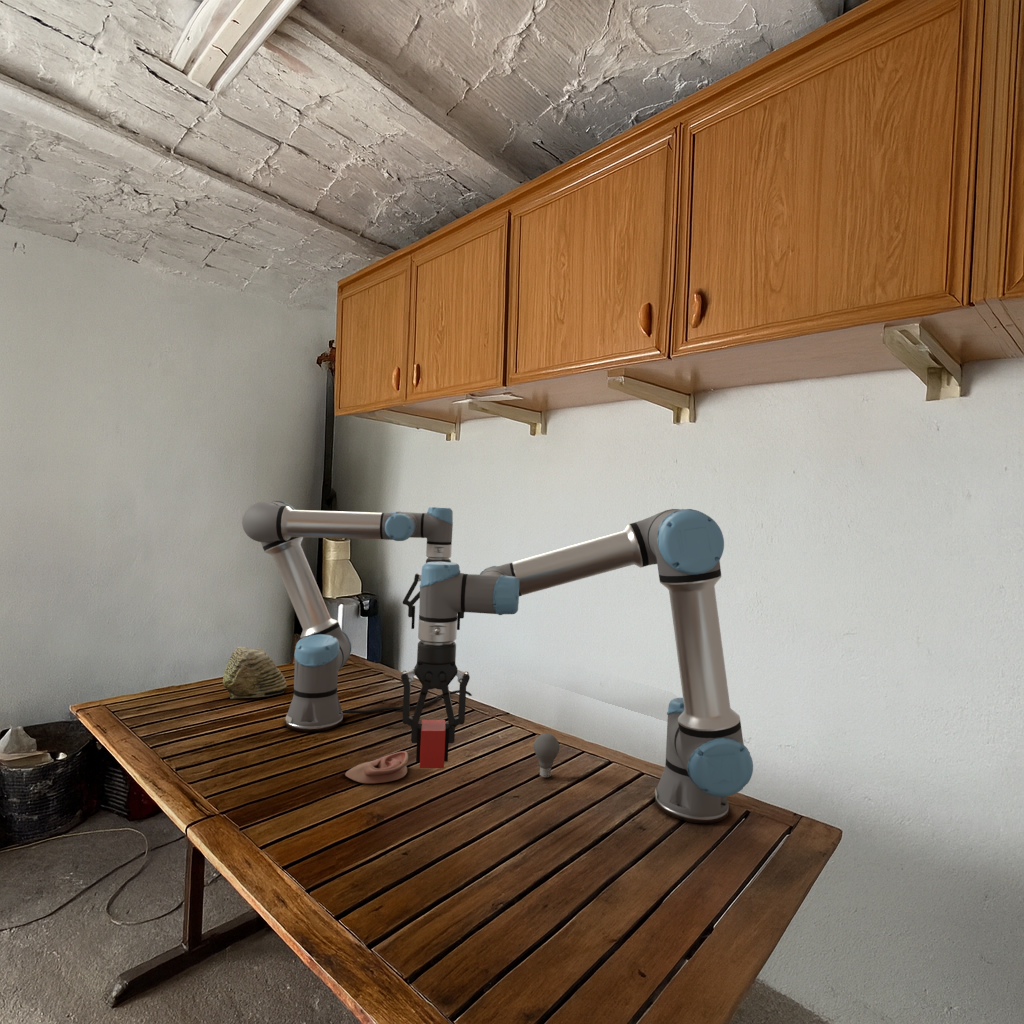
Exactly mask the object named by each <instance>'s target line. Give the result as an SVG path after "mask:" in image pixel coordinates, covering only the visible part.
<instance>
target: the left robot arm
mask: <svg viewBox="0 0 1024 1024" xmlns="http://www.w3.org/2000/svg"><path fill="white" fill-rule="evenodd" d="M453 515H454V513H453V510H452V508H450V507H447V506H446V507H444V506H429V507H428V509H427V512H411V511H410V512H408V511H389V512H371V511H370V512H369V511H342V510H341V511H338V510H306V509H295V508H294V507H293V505H291V504H289V503H286V502H284V501H280V500H272V501H259V502H255V503H253V504H251V505H250V506H248V507H247V509H246V510H245V511H244V513H243V515H242V519H241V520H242V521H241V524H242V529H243V531H244V533H245V534H246V535H247V537H248V538H250V540H253V541H255V542H258V543H260V545H261V547H262V550H263V551H264V553H266V554H268V555H270V556H272V558H273V561H274V564H275V566H276V568H277V571H278V574H279V575H280V579H281V580H282V583H283V585H284V587H285V590H286V593H287V595H288V598H289V600H290V603H291V605H292V607H293V609H294V612H295V614H296V617H297V619H298V621H299V624H300V626H301V628H302V632H301V634H300V637H299V638H300V639H299V640H298V641H297V642H296V643H295V650H294V655H293V656H294V672H293V673H294V674H293V695H292V696H293V697H292V699H291V702H290V704H289V708H288V711H287V713H286V715H285V726H286V728H287V729H289V730H291V731H294V732H295V731H296V732H301V733H316V732H325V731H329V730H332V729H335V728H337V727H339V726H340V725H342V723H343V722H344V714H370V713H377V712H382V711H392V710H393V711H395V710H397V711H398V710H399V711H400V710H402V711H403V706H385V707H379V708H373V709H362V710H361V709H359V710H357V709H356V710H355V709H354V710H353V709H350V710H349V709H348V710H347V709H346V710H343V709H342V706H341V702H340V699H339V695H338V682H339V681H338V680H339V678H338V677H339V671H340V670H341V668H342V667H344V666H346V664H347V663H348V661H349V659H350V656H351V653H352V648H353V647H352V641H351V638H350V636H349V635H348V634H347V633H346V632H345V631H343V630H342V628H341V625H340V623H339V621H338V620H337V619H334V618H332V616H331V614H330V613H329V611H328V608H327V605H326V603H325V600H324V598H323V595H322V593H321V590H320V588H319V586H318V584H317V583H318V582H317V581H316V578H315V576H314V574H313V572H312V569H311V566H310V564H309V561H308V559H307V557H306V554H305V551H304V549H303V546H302V542H303V539H304V538H314V539H315V538H317V539H318V538H319V539H351V540H352V539H355V540H356V539H357V540H384V541H395V542H404V541H406V540H408V539H410V538H411V539H412V538H413V539H415V538H416V539H426V548H425V549H426V551H425V556H426V559H425V564H426V563H428V562H452V560H451V559H450V558H451V557H452V549H453V548H452V547H453V527H454V522H453V520H454V518H453V517H454V516H453ZM413 578H414V579H413V581H412V584H411V585H410V587H409V589H408V591H407V593H406V594H405V596H404V598H403V600H402V605H405V606H407V608H408V609H407V616H408V618H411V630H415V625H416V624H415V622H416V605H415V603H417V601H418V600H420V590H419V591H418V592H417V593H416V594H415V595H414V596H413V598H412V599H411V600H410V598H411V596H412V593H413V592H414V591H415V589H416V587H417V585H418V583H419V582H421V574H420V573H418V572H416V573H415V574H414V577H413ZM464 618H465V612H458V613H457V631H461V630H460V629H461V628H460V627H461V619H464ZM449 693H450V696H451V695H454V694H455V695H456V694H459V689H458V690H453V691H449ZM466 695H467V696H469V697H472V696H473V694H472V693H471V692H469V691H467V690H466ZM440 698H444V697H443V693H442V694H439V695H437V696H436V697H435V698H434V699H431V700H430V701H427V702H424V706H423V708H424V707H426V706H429V705H431V704H433V703H435V702H437V701H438V700H440ZM415 709H416V705H410V710H415Z"/></svg>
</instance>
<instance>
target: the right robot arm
mask: <svg viewBox="0 0 1024 1024" xmlns="http://www.w3.org/2000/svg"><path fill="white" fill-rule="evenodd" d="M724 550H725V538H724V535H723V531H722V529H721V527H720V526H719V524H718V523H717V522H716V521H715V520H714V519H713V518H712V517H711V516H709V515H708V514H706V513H704V512H702V511H700V510H697V509H694V508H693V509H692V508H671V509H666V510H664V511H660V512H659V513H656V514H654V515H651V516H649V517H646V518H644V519H641V520H638V521H635V522H632V523H628V524H626V526H625V528H624V530H620V531H618V532H614V533H610V534H607V535H603V536H599V537H597V538H593V539H589V540H586V541H582V542H579V543H575V544H572V545H568V546H564V547H560V548H558V549H554V550H551V551H547V552H543V553H539V554H536V555H532V556H529V557H526V558H523V559H519V560H515V561H512V562H509V563H504V564H501V565H492V566H489V567H486V568H484V569H483V570H482V571H481V572H480V573H479V574H476V573H473V574H472V573H464V572H461V569H460V565H459V564H458V563H457V562H452V561H451V562H428V563H426V562H425V563H424V564H423V565H422V567H421V581H420V584H419V591H420V598H419V606H418V607H419V608H418V609H419V610H418V628H417V639H418V640H419V641H418V642H417V649H416V651H417V652H416V664H415V666H414V668H413V669H410V670H403V671H402V672H401V675H400V678H401V679H400V680H401V682H402V685H403V701H402V707H403V710H402V724H403V725H408V726H410V727H411V732H410V733H411V735H410V742H411V744H416V755H415V756H416V757H415V762H418V763H420V748H421V728H422V723H419V722H420V719H421V715H422V712H423V709H424V707H425V706H424V703H426V699H427V695H428V692H429V690H439V691H440V690H441V693H442V694H443V697H442V698H443V702H444V707H445V712H446V717H447V722H448V723H445V728H446V733H445V755H444V763H446V762H449V745H450V744H454V743H455V740H456V739H455V738H456V737H455V736H456V727H457V726H460V725H461V726H462V725H464V724H465V721H466V702H467V701H466V699H467V694H466V691H467V686H468V683H469V681H470V679H471V677H470V672H469V671H462V670H460V669H458V667H457V666H458V665H456V661H457V660H456V658H457V643H456V642H455V641H456V640H457V635H458V630H457V616H458V612H464V613H470V614H471V613H473V614H487V615H488V614H489V615H498V616H503V615H515V614H517V613H518V611H519V603H520V597H522V596H526V595H529V594H532V593H537V592H539V591H545V590H547V589H551V588H554V587H558V586H562V585H564V584H569V583H572V582H575V581H580V580H583V579H588V578H590V577H594V576H597V575H602V574H605V573H609V572H612V571H617V570H620V569H623V568H627V567H631V566H633V565H634V566H636V567H638V568H639V569H640V568H644V567H648V566H652V565H657V572H658V579H659V584H661V585H662V586H663V587H665V588H666V589H667V590H668V595H669V602H670V609H671V617H672V618H671V619H672V626H673V633H674V638H675V639H674V641H675V647H676V654H677V655H676V656H677V662H678V670H679V678H680V686H681V693H682V697H675V698H672V699H671V700H670V701H669V702H668V707H667V712H666V716H667V719H666V720H667V721H666V722H667V723H666V742H665V743H666V745H665V765H664V768H663V771H662V774H661V776H660V779H659V781H658V784H657V786H656V787H655V789H654V794H655V795H654V802H655V805H656V807H657V808H658V809H660V810H661V811H662V812H663V813H665V814H666V815H667V816H668V815H669V816H670V817H672V818H674V819H677V820H680V821H684V822H688V823H693V824H714V823H720V822H722V821H723V820H725V819H727V817H728V815H729V809H730V808H729V807H730V804H729V799H728V797H730V796H733V795H735V794H737V793H739V792H740V791H742V790H743V789H744V788H745V787H746V785H748V784H749V782H750V781H751V778H752V776H753V773H754V762H753V757H752V755H751V752H750V751H749V748H748V747H747V746H745V744H744V737H743V730H742V722H741V717H740V714H738V713H737V712H736V711H735V710H733V708H732V707H731V703H730V702H731V701H730V695H729V687H728V679H727V671H726V664H725V656H724V649H723V647H724V646H723V641H722V640H723V639H722V632H721V626H720V618H719V617H720V616H719V610H718V609H719V608H718V602H717V595H716V594H717V593H716V588H715V586H716V584H717V583H718V582H719V580H720V579H721V578H722V569H721V558H722V556H723V554H724ZM414 677H416V678H417V680H418V681H419V683H420V684H421V688H420V692H419V696H418V699H417V702H416V705H415V706H416V709H414V713H413V715H412V716H411V715H410V712H411V711H410V710H411V709H410V707H411V687H412V684H411V683H413V681H414ZM455 678H457V682H458V683H459V689H458V690H459V693H458V709H457V710H458V711H457V712H458V713H457V716H455V714H454V708H453V703H452V699H451V695H450V693H449V692H450V688H449V685H450V684H451V682H452V681H453V680H454V679H455ZM423 706H424V707H423Z"/></svg>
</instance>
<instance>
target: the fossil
mask: <svg viewBox="0 0 1024 1024" xmlns="http://www.w3.org/2000/svg"><path fill="white" fill-rule="evenodd" d="M222 676H223V677H222V685H223V687H224V688H225V690H226V691H228V693H229V698H230V699H250V698H264V697H271V696H275V695H281V694H284V693H285V691H286V689H287V687H288V686H287V680H286V678H285V676H284V674H283V673H282V672H281V669H279V668H278V667H277V665H276V663H275V662H274V660H273V659H272V658H271V657H270V656H269V655H268V654H267V653H266V652H265V650H264V649H263V648H260V647H258V648H251V647H247V646H246V647H245V646H238V647H237V648H236V649H235V650H233V651H232V653H231V656H230V657H229V659H228V660H227V663H226V666H225V668H224V671H223V675H222Z"/></svg>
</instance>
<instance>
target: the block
mask: <svg viewBox="0 0 1024 1024" xmlns="http://www.w3.org/2000/svg"><path fill="white" fill-rule="evenodd" d="M421 724H422V728H421V748H420V762H419V769H444V768H445V762H444V755H445V733H446V728H445V724H446V719H421Z"/></svg>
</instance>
